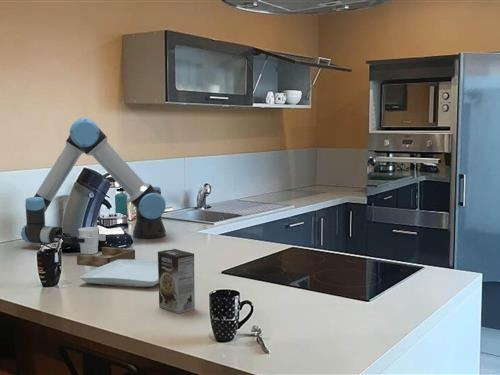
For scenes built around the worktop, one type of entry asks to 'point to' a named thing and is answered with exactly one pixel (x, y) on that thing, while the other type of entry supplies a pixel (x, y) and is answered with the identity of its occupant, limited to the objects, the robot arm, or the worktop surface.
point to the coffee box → (176, 280)
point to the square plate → (125, 273)
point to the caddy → (106, 256)
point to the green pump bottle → (121, 202)
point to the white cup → (94, 234)
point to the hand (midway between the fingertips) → (98, 239)
